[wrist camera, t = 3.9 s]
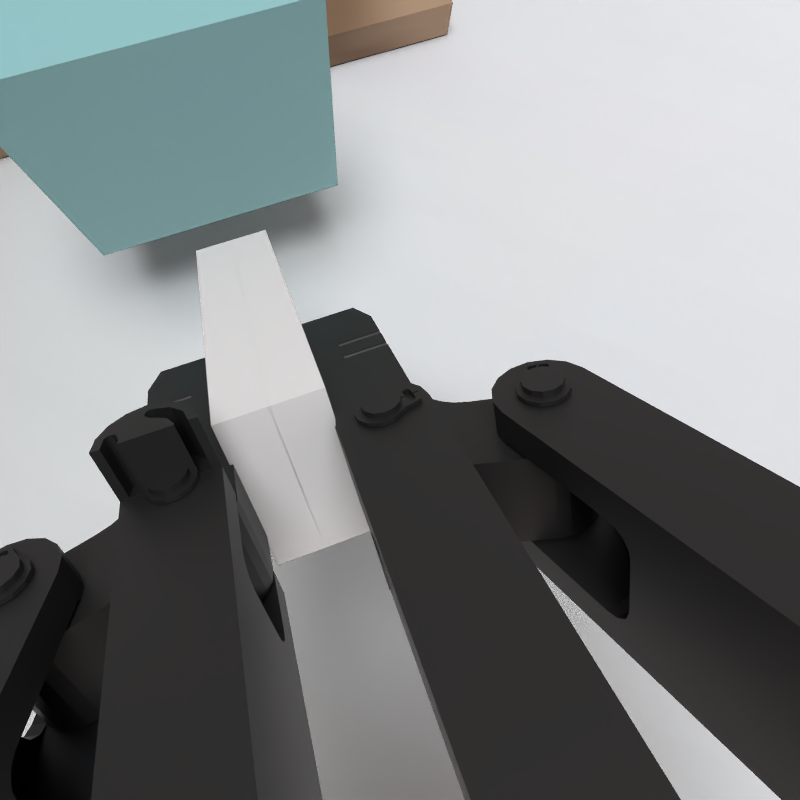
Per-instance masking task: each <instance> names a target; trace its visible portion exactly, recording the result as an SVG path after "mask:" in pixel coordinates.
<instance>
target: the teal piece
mask: <svg viewBox="0 0 800 800" xmlns="http://www.w3.org/2000/svg"><path fill="white" fill-rule="evenodd" d="M0 147H1V148H2V149H3V150H4V151H5V152H6V153H7V154H8V155H9V156H10V157H11V158H12V160H13V161H14V162H15V163H16V164H17V165H18V166H19V167H20V168H21V169H22V170H23V171H24V172H25V173H26V174H27V175H28V176H29V177H30V178H31V179H32V181H33V182H34V183H35V184H36V185H37V186H38V187H39V188H40V189H41V190H42V191H43V192H44V193H45V194H46V195H47V196H48V197H49V198H50V199H51V200H52V202H53V203H54V204H55V205H56V206H57V207H58V208H59V209H60V210H61V211H62V212H63V213H64V214H65V215H66V216H67V217H68V218H69V219H70V220H71V221H72V223H73V224H74V225H75V226H76V227H77V228H78V229H79V230H80V231H81V232H82V233H83V234H84V235H85V236H86V237H87V238H88V239H89V240H90V241H91V243H92V244H93V245H94V246H95V247H96V248H97V249H98V250H99V251H100V252H101V253H102V254H103V255H107V254H110V253H113V252H117V251H120V250H123V249H127V248H130V247H133V246H137V245H140V244H143V243H147V242H150V241H153V240H157V239H160V238H163V237H166V236H170V235H173V234H176V233H180V232H183V231H186V230H190V229H193V228H196V227H200V226H203V225H206V224H210V223H213V222H216V221H220V220H223V219H226V218H229V217H233V216H236V215H239V214H243V213H246V212H249V211H253V210H256V209H259V208H263V207H266V206H269V205H273V204H276V203H279V202H283V201H286V200H289V199H292V198H296V197H299V196H302V195H306V194H309V193H312V192H316V191H319V190H322V189H326V188H329V187H332V186H336V185H338V183H337V167H336V152H335V136H334V121H333V106H332V90H331V75H330V60H329V44H328V29H327V14H326V0H0Z"/></svg>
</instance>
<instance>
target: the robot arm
mask: <svg viewBox="0 0 800 800" xmlns="http://www.w3.org/2000/svg"><path fill="white" fill-rule="evenodd" d="M196 257H197V269H198V280H199V292H200V304H201V315H202V327H203V339H204V350H205V358H202V359H199V360H196V361H193V362H190V363H187V364H184V365H181V366H178V367H174V368H171V369H168V370H165V371H162V372H161V373H160V374H159V376H158V377H157V379H156V380H155V382H154V383H153V385H152V386H151V388H150V389H149V391H148V404H147V406H144V407H142V408H139V409H137V410H135V411H132V412H130V413H128V414H126V415H124V416H123V417H121V418H120V419H118V420H117V421H115V422H114V423H112V424H111V425H109V426H108V427H107V428H106V429H105V430H104V431H103V432H102V433H101V434H100V435H99V436H98V437H97V438H96V439H95V441H94V443H93V446H92V448H91V450H90V452H89V454H90V456H91V457H92V459H93V460H94V462H95V463H96V465H97V467H98V468H99V470H100V471H101V473H102V474H103V476H104V477H105V479H106V480H107V482H108V484H109V485H110V487H111V488H112V490H113V491H114V493H115V494H116V496H117V498H118V499H119V501H120V509H119V519H118V520H116V521H115V522H114V523H113V524H112V525H110V526H109V527H107V528H106V529H104V530H103V531H101V532H100V533H98V534H97V535H95V536H93V537H92V538H90V539H88V540H86V541H85V542H83V543H81V544H80V545H78V546H76V547H74V548H73V549H71V550H69V551H68V552H66V553H64V552H63V551H62V550H61V549H60V547H59V546H58V545H57V544H56V543H54V542H52V541H50V540H48V539H46V538H37V539H25V540H22V541H19V542H16V543H13V544H10V545H6V546H5V547H3V548H1V549H0V800H322V795H321V789H320V784H319V778H318V773H317V768H316V762H315V757H314V752H313V746H312V741H311V735H310V730H309V725H308V719H307V714H306V709H305V703H304V698H303V692H302V687H301V682H300V676H299V671H298V666H297V660H296V655H295V650H294V644H293V639H292V633H291V628H290V623H289V617H288V612H287V607H286V601H285V596H284V592H283V590H282V588H281V586H280V584H279V582H278V580H277V578H276V575H275V573H274V571H273V567H272V561H271V555H270V550H271V552H272V554H273V556H274V558H275V561H276V563H277V565H280V564H283V563H286V562H288V561H291V560H294V559H296V558H299V557H302V556H305V555H307V554H310V553H313V552H315V551H318V550H321V549H324V548H326V547H329V546H332V545H334V544H337V543H340V542H343V541H345V540H348V539H351V538H353V537H356V536H359V535H362V534H364V533H367V532H371V535H372V538H373V541H374V544H375V547H376V550H377V553H378V556H379V559H380V562H381V565H382V568H383V571H384V574H385V577H386V580H387V583H388V586H389V589H390V590H391V593H392V596H393V598H394V601H395V604H396V607H397V610H398V612H399V615H400V618H401V621H402V624H403V626H404V629H405V632H406V635H407V638H408V641H409V643H410V646H411V649H412V652H413V655H414V657H415V660H416V663H417V666H418V669H419V671H420V674H421V677H422V680H423V683H424V686H425V688H426V691H427V694H428V697H429V700H430V702H431V705H432V708H433V711H434V714H435V716H436V719H437V722H438V725H439V728H440V731H441V733H442V736H443V739H444V742H445V745H446V747H447V750H448V753H449V756H450V759H451V761H452V764H453V767H454V770H455V773H456V776H457V778H458V781H459V784H460V787H461V790H462V792H463V795H464V798H465V800H681V799H680V798H679V796H678V795H677V793H676V791H675V790H674V788H673V787H672V785H671V783H670V782H669V780H668V778H667V777H666V775H665V774H664V772H663V770H662V769H661V767H660V766H659V764H658V762H657V761H656V759H655V758H654V756H653V754H652V753H651V751H650V749H649V748H648V746H647V745H646V743H645V741H644V740H643V738H642V737H641V735H640V733H639V732H638V730H637V728H636V727H635V725H634V724H633V722H632V720H631V719H630V717H629V716H628V714H627V712H626V711H625V709H624V708H623V706H622V704H621V703H620V701H619V699H618V698H617V696H616V695H615V693H614V691H613V690H612V688H611V687H610V685H609V683H608V682H607V680H606V678H605V677H604V675H603V674H602V672H601V670H600V669H599V667H598V666H597V664H596V662H595V661H594V659H593V658H592V656H591V654H590V653H589V651H588V649H587V648H586V646H585V645H584V643H583V641H582V640H581V638H580V637H579V635H578V633H577V632H576V630H575V628H574V627H573V625H572V624H571V622H570V620H569V619H568V617H567V616H566V614H565V612H564V611H563V609H562V608H561V606H560V604H559V603H558V601H557V599H556V598H555V596H554V595H553V593H552V591H551V590H550V588H549V587H548V585H547V583H546V582H545V580H544V579H543V577H542V575H541V574H540V572H539V570H538V569H537V567H538V568H539V569H540V570H541V571H542V572H543V573H544V574H545V575H546V576H547V577H548V578H549V579H550V580H551V581H552V582H553V583H554V584H555V585H556V586H558V587H559V588H560V589H561V590H562V591H563V592H564V593H565V594H566V595H567V596H568V597H569V598H570V599H571V600H572V601H573V602H574V603H575V604H576V605H577V606H579V607H580V608H581V609H582V610H583V611H584V612H585V613H586V614H587V615H588V616H589V617H590V618H591V619H592V620H593V621H594V622H595V623H596V624H597V625H599V626H600V627H601V628H602V629H603V630H604V631H605V632H606V633H607V634H608V635H609V636H610V637H611V638H612V639H613V640H614V641H615V642H616V643H617V644H618V645H620V646H621V647H622V648H623V649H624V650H625V651H626V652H627V653H628V654H629V655H630V656H631V657H632V658H633V659H634V660H635V661H636V662H637V663H638V664H639V665H641V666H642V667H643V668H644V669H645V670H646V671H647V672H648V673H649V674H650V675H651V676H652V677H653V678H654V679H655V680H656V681H657V682H658V683H659V684H661V685H662V686H663V687H664V688H665V689H666V690H667V691H668V692H669V693H670V694H671V695H672V696H673V697H674V698H675V699H676V700H677V701H678V702H679V703H680V704H682V705H683V706H684V707H685V708H686V709H687V710H688V711H689V712H690V713H691V714H692V715H693V716H694V717H695V718H696V719H697V720H698V721H699V722H700V723H701V724H703V725H704V726H705V727H706V728H707V729H708V730H709V731H710V732H711V733H712V734H713V735H714V736H715V737H716V738H717V739H718V740H719V741H720V742H721V743H722V744H724V745H725V746H726V747H727V748H728V749H729V750H730V751H731V752H732V753H733V754H734V755H735V756H736V757H737V758H738V759H739V760H740V761H741V762H742V763H744V764H745V765H746V766H747V767H748V768H749V769H750V770H751V771H752V772H753V773H754V774H755V775H756V776H757V777H758V778H759V779H760V780H761V781H762V782H763V783H765V784H766V785H767V786H768V787H769V788H770V789H771V790H772V791H773V792H774V793H775V794H776V795H777V796H778V797H779V798H780V799H781V800H800V487H799V486H797V485H795V484H793V483H792V482H790V481H788V480H786V479H784V478H782V477H781V476H779V475H777V474H775V473H773V472H772V471H770V470H768V469H766V468H764V467H763V466H761V465H759V464H757V463H755V462H753V461H752V460H750V459H748V458H746V457H744V456H743V455H741V454H739V453H737V452H735V451H733V450H732V449H730V448H728V447H726V446H724V445H723V444H721V443H719V442H717V441H715V440H713V439H712V438H710V437H708V436H706V435H704V434H703V433H701V432H699V431H697V430H695V429H694V428H692V427H690V426H688V425H686V424H684V423H683V422H681V421H679V420H677V419H675V418H674V417H672V416H670V415H668V414H666V413H664V412H663V411H661V410H659V409H657V408H655V407H654V406H652V405H650V404H648V403H646V402H644V401H643V400H641V399H639V398H637V397H635V396H634V395H632V394H630V393H628V392H626V391H624V390H623V389H621V388H619V387H617V386H615V385H614V384H612V383H610V382H608V381H606V380H605V379H603V378H601V377H599V376H597V375H595V374H594V373H592V372H590V371H588V370H586V369H585V368H583V367H580V366H577V365H574V364H572V363H569V362H566V361H555V360H542V361H534V362H527V363H525V364H522V365H519V366H517V367H514V368H511V369H510V370H508V371H507V372H506V373H504V374H503V375H502V376H500V377H499V378H498V379H497V381H496V383H495V384H494V386H493V388H492V399H488V400H480V401H472V402H458V403H451V402H441V401H437V400H433V399H432V398H431V396H430V395H429V394H428V393H427V392H426V391H425V390H424V389H423V388H422V387H420V386H418V385H415V384H412V383H410V381H409V379H408V378H407V376H406V374H405V373H404V371H403V369H402V367H401V366H400V364H399V362H398V361H397V359H396V357H395V356H394V354H393V352H392V351H391V349H390V347H389V346H388V344H387V343H386V341H385V339H384V337H383V336H382V334H381V333H380V331H379V329H378V327H377V326H376V324H375V322H374V321H373V319H372V317H371V316H369V315H367V314H365V313H363V312H361V311H359V310H356V309H354V308H351V309H348V310H344V311H341V312H338V313H335V314H332V315H329V316H326V317H323V318H320V319H316V320H313V321H310V322H307V323H304V324H301V322H300V320H299V317H298V314H297V312H296V309H295V306H294V304H293V301H292V298H291V296H290V293H289V291H288V288H287V285H286V283H285V280H284V277H283V275H282V272H281V269H280V267H279V264H278V261H277V259H276V256H275V254H274V251H273V248H272V246H271V243H270V240H269V238H268V235H267V232H266V230H263V231H260V232H256V233H253V234H250V235H247V236H243V237H240V238H237V239H233V240H230V241H227V242H223V243H220V244H217V245H213V246H210V247H207V248H203V249H200V250H197V251H196ZM269 548H270V550H269ZM536 566H537V567H536ZM32 710H33V711H34V712H35V713H36V716H35V718H34V720H33V723H32V725H31V727H30V728H29V730H28V732H27V733H26V735H25V736H24V737H21V736H22V733H23V731H24V728H25V726H26V724H27V721H28V719H29V716H30V714H31V712H32Z"/></svg>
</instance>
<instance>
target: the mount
mask: <svg viewBox="0 0 800 800" xmlns="http://www.w3.org/2000/svg"><path fill="white" fill-rule="evenodd" d="M452 4H453V2H452V0H326V14H327V29H328V44H329V60H330V67H331V66H334V65H338V64H342V63H345V62H349V61H352V60H356V59H360V58H363V57H367V56H370V55H374V54H378V53H381V52H385V51H388V50H392V49H396V48H399V47H403V46H406V45H410V44H414V43H417V42H421V41H424V40H428V39H432V38H435V37H439V36H442V35H446V34H447V32H448V26H449V21H450V15H451V9H452ZM6 156H9V155H8V154H7V153H6V152H5V151H4V150H3V149H2V148H1V147H0V158H3V157H6Z"/></svg>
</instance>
